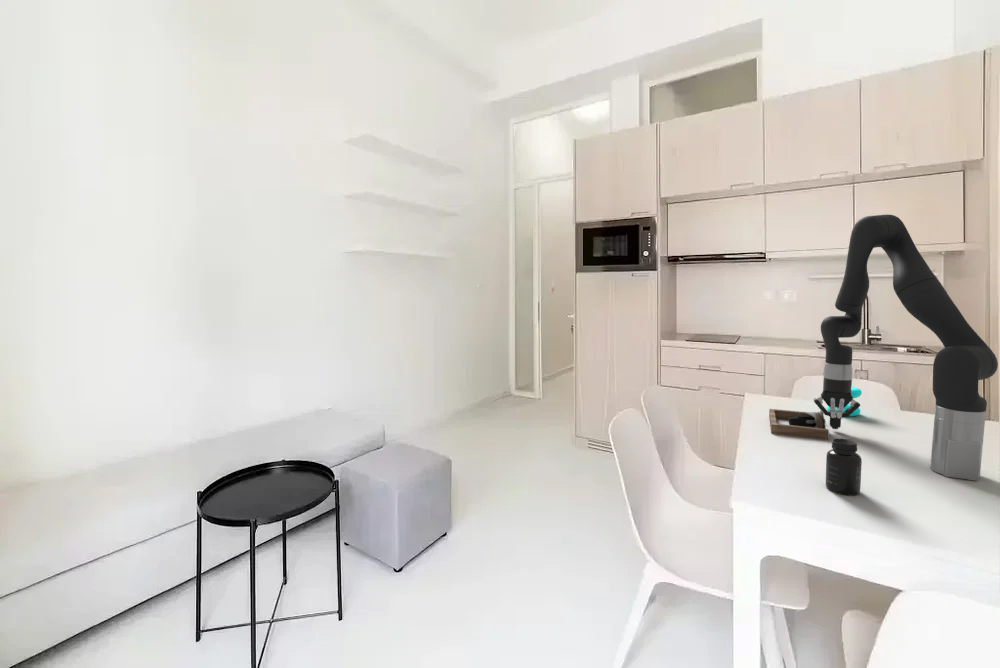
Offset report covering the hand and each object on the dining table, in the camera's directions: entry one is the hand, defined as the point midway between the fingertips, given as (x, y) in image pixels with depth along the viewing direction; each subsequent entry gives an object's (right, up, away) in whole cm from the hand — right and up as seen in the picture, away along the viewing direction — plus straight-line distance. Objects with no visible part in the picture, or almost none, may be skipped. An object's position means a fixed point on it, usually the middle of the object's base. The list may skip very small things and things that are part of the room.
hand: (834, 428), depth 155 cm
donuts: (+18, +1, +20) cm, 27 cm away
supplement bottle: (-28, -7, -42) cm, 51 cm away
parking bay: (-9, -1, +5) cm, 10 cm away
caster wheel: (-8, -1, +3) cm, 8 cm away
